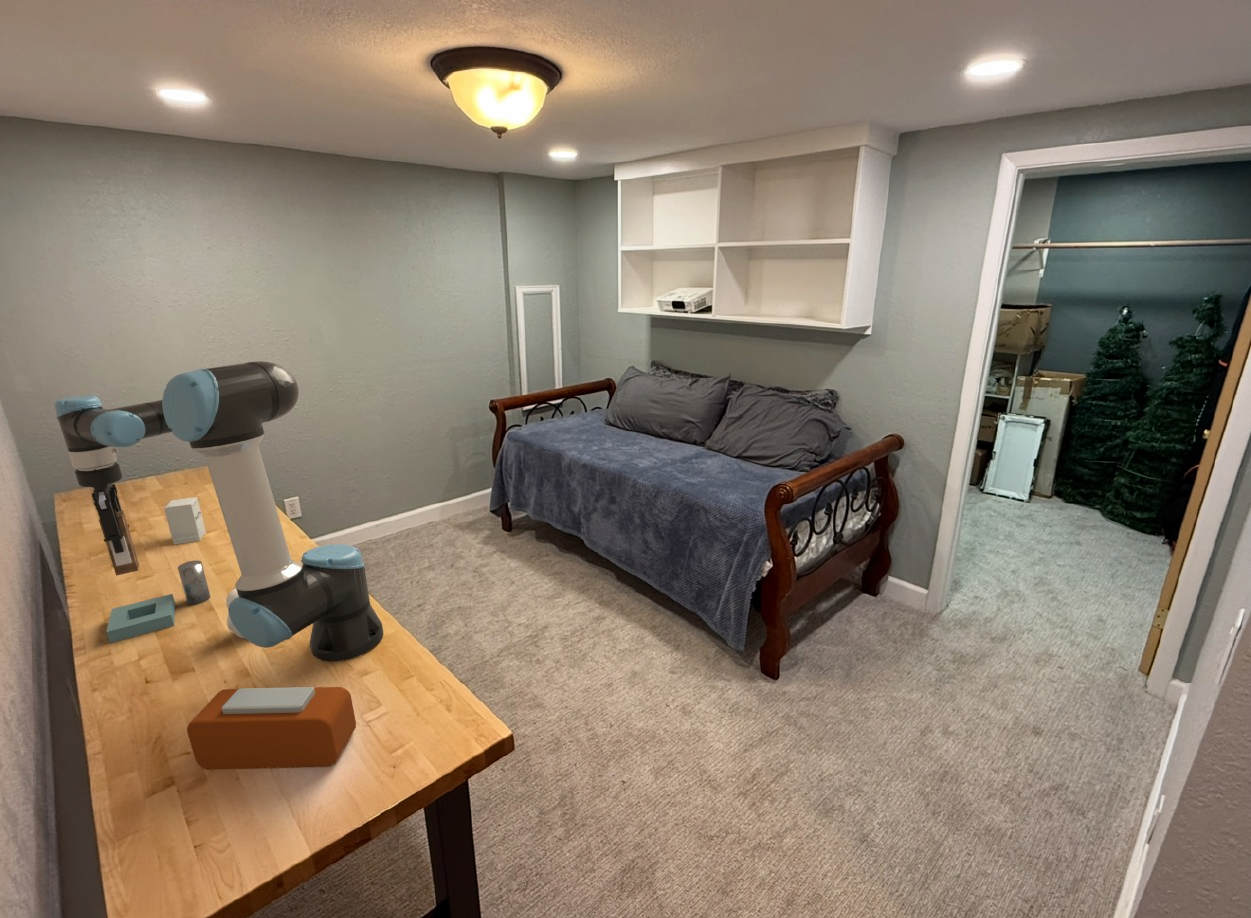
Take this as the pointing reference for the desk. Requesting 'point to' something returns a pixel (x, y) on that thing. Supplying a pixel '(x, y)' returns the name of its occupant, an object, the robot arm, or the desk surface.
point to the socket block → (141, 618)
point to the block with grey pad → (273, 728)
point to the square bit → (126, 533)
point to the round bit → (194, 582)
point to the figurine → (229, 599)
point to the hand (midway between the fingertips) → (125, 559)
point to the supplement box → (185, 520)
